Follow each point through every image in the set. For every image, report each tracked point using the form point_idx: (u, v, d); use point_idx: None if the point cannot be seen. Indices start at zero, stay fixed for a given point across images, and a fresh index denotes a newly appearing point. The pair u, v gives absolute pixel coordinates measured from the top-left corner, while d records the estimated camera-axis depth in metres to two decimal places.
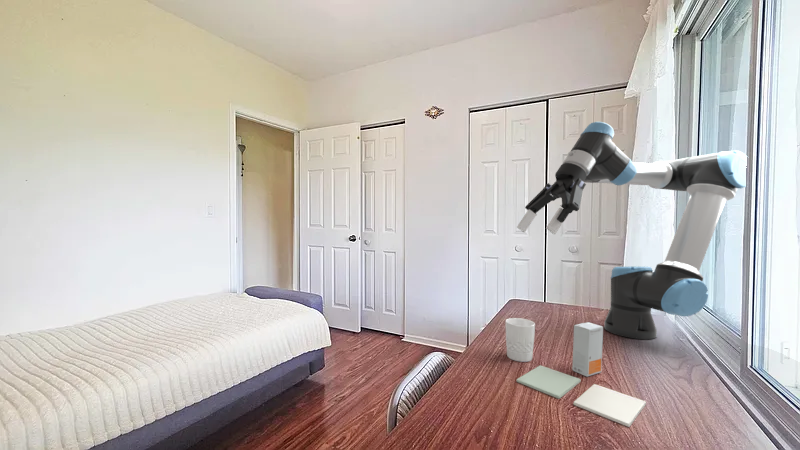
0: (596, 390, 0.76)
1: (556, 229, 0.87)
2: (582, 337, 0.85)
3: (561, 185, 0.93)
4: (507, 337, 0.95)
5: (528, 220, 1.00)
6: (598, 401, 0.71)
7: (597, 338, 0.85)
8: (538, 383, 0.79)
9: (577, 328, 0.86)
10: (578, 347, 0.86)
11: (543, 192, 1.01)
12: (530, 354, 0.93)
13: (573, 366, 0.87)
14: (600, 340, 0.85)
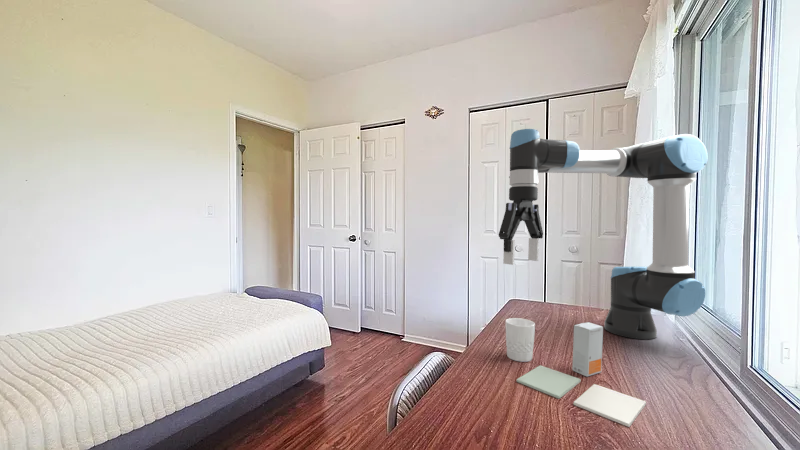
0: (596, 390, 0.76)
1: (511, 260, 0.89)
2: (582, 337, 0.85)
3: None
4: (507, 337, 0.95)
5: (533, 248, 0.99)
6: (598, 401, 0.71)
7: (597, 338, 0.85)
8: (538, 383, 0.79)
9: (577, 328, 0.86)
10: (578, 347, 0.86)
11: None
12: (530, 354, 0.93)
13: (573, 366, 0.87)
14: (600, 340, 0.85)
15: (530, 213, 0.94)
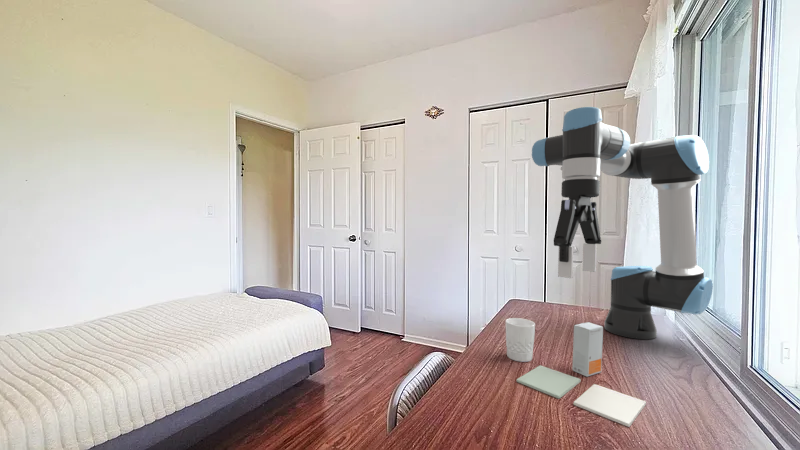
0: (596, 390, 0.76)
1: (569, 272, 0.70)
2: (582, 337, 0.85)
3: None
4: (507, 337, 0.95)
5: (590, 256, 0.80)
6: (598, 401, 0.71)
7: (597, 338, 0.85)
8: (538, 383, 0.79)
9: (577, 328, 0.86)
10: (578, 347, 0.85)
11: None
12: (530, 354, 0.93)
13: (573, 366, 0.87)
14: (600, 340, 0.85)
15: (589, 213, 0.75)
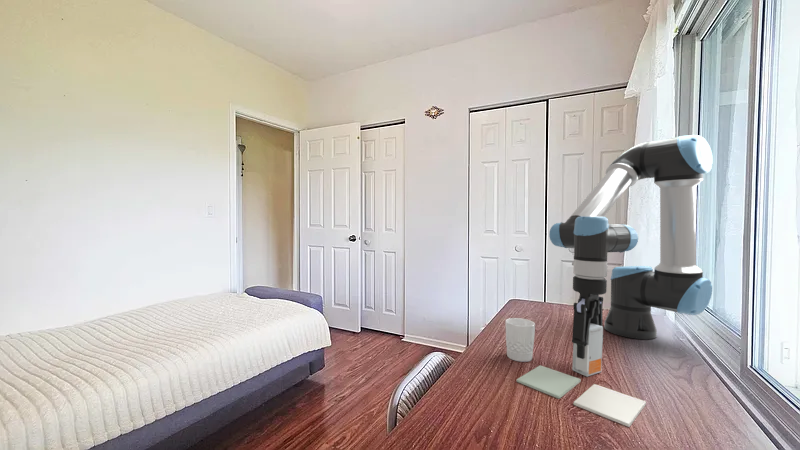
0: (596, 390, 0.76)
1: (585, 366, 0.83)
2: None
3: None
4: (507, 337, 0.95)
5: None
6: (598, 401, 0.71)
7: (597, 338, 0.85)
8: (538, 383, 0.79)
9: None
10: None
11: None
12: (530, 354, 0.93)
13: (573, 366, 0.87)
14: (600, 340, 0.85)
15: (596, 306, 0.86)
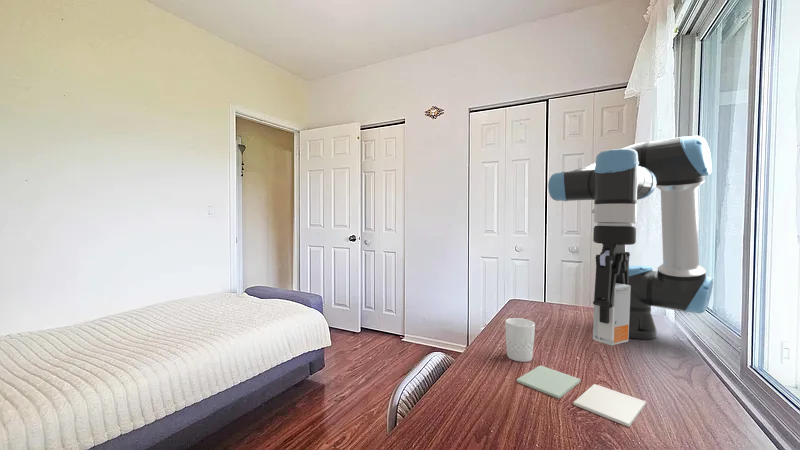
0: (596, 390, 0.76)
1: (609, 333, 0.68)
2: None
3: None
4: (507, 337, 0.95)
5: None
6: (598, 401, 0.71)
7: (623, 299, 0.69)
8: (538, 383, 0.79)
9: None
10: None
11: None
12: (530, 354, 0.93)
13: (594, 334, 0.71)
14: (627, 302, 0.70)
15: (623, 261, 0.70)
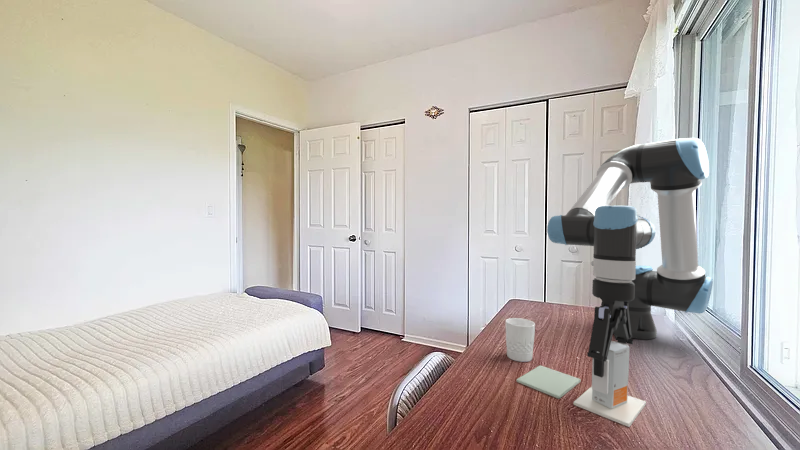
0: None
1: (604, 387, 0.66)
2: None
3: None
4: (507, 337, 0.95)
5: None
6: None
7: (622, 361, 0.70)
8: (538, 383, 0.79)
9: None
10: None
11: None
12: (530, 354, 0.93)
13: (593, 395, 0.71)
14: (626, 363, 0.70)
15: (622, 315, 0.71)
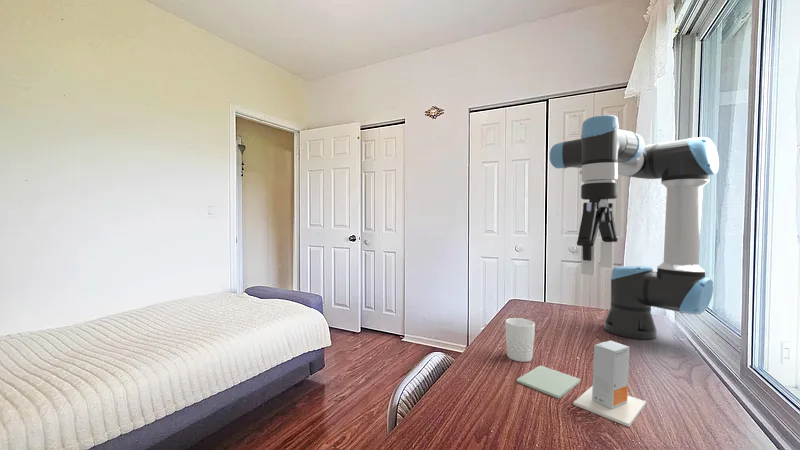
0: None
1: (592, 269, 0.76)
2: (604, 359, 0.69)
3: None
4: (507, 337, 0.95)
5: (607, 253, 0.86)
6: None
7: (622, 361, 0.70)
8: (538, 383, 0.79)
9: (598, 349, 0.71)
10: (600, 372, 0.70)
11: None
12: (530, 354, 0.93)
13: (593, 395, 0.71)
14: (626, 363, 0.70)
15: (607, 214, 0.81)
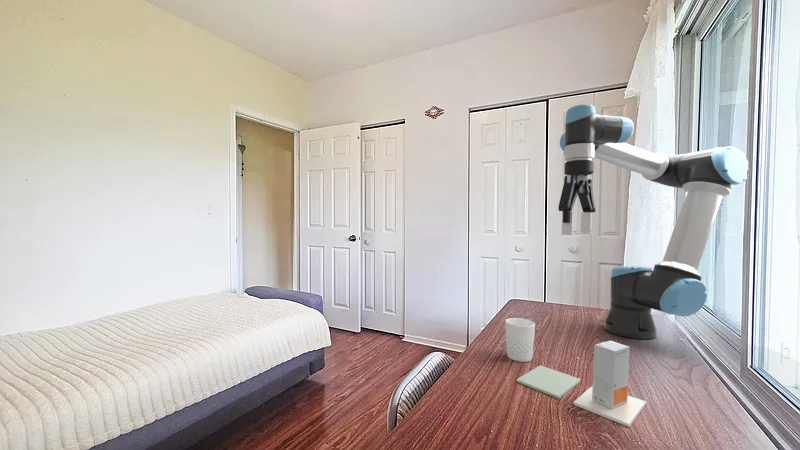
0: None
1: (570, 230, 0.92)
2: (604, 359, 0.69)
3: None
4: (507, 337, 0.95)
5: (586, 222, 1.02)
6: None
7: (622, 361, 0.70)
8: (538, 383, 0.79)
9: (598, 349, 0.71)
10: (600, 372, 0.70)
11: None
12: (530, 354, 0.93)
13: (593, 395, 0.71)
14: (626, 363, 0.70)
15: (586, 187, 0.97)
